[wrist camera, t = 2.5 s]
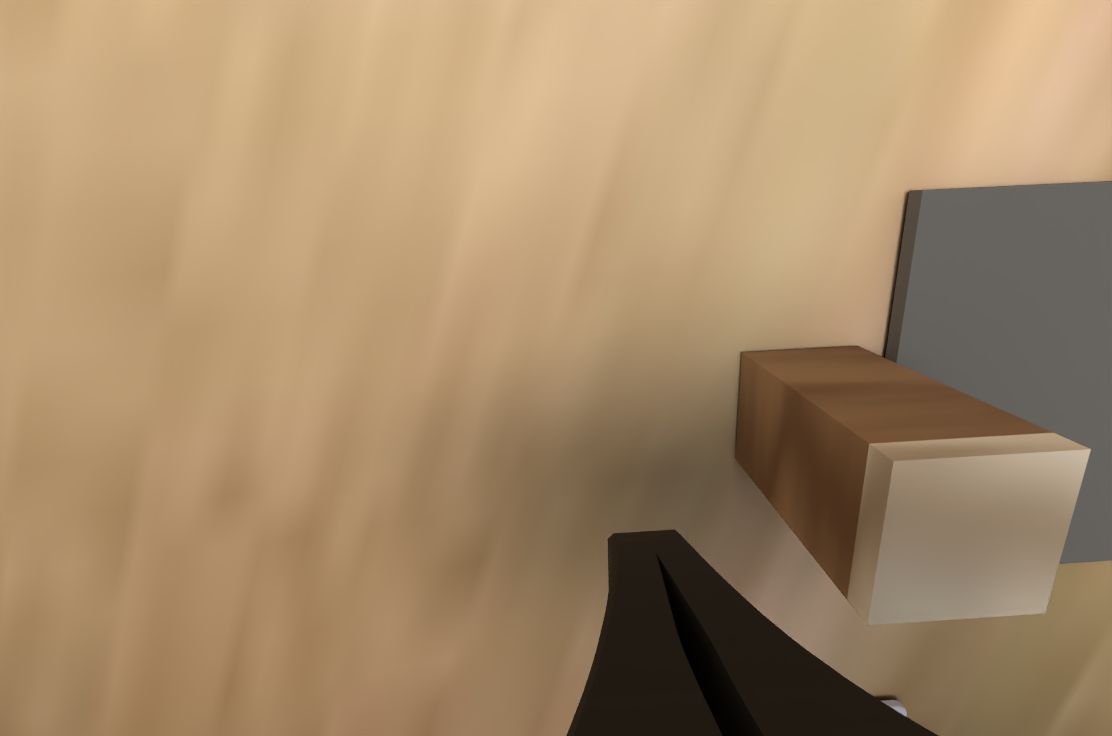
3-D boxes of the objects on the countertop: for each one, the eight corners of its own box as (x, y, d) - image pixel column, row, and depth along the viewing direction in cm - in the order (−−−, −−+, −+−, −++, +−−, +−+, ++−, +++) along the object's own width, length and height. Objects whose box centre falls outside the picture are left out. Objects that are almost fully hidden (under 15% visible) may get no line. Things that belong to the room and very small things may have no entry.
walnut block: (844, 451, 19) (1045, 613, 12) (735, 458, 19) (867, 626, 12) (857, 346, 18) (1090, 449, 11) (741, 352, 18) (893, 461, 11)
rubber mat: (1248, 540, 21) (1268, 549, 21) (854, 566, 21) (863, 576, 20) (1397, 167, 17) (1427, 166, 17) (909, 190, 17) (922, 190, 16)
